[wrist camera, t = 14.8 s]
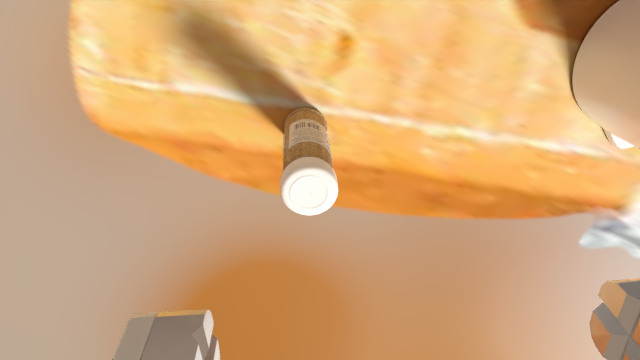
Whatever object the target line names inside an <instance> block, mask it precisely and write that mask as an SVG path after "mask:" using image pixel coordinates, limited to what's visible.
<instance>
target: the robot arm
mask: <svg viewBox="0 0 640 360" xmlns="http://www.w3.org/2000/svg"><path fill="white" fill-rule="evenodd" d="M572 83H573V91H574V95H575V99H576V101H577V103H578V105H579V107H580V108H581V110H582V111H583V112H584V113H585V114H586V115H587V116H588V117H589V118H590V119H592V120H593V121H595V122H596V123H598V124H599V125H600V126H601V127H602V128H603V129H604V132H605V134H606V136H607V138H608V140H609V142H610V143H611V144H612V145H614V146H616V147H618V148H620V149H626V148H631V147H635V146H636V147H638V148H640V0H619V1H618V2H616V3H615V4H614V5H612V6H611V7H610V8H609V9H608V10H607V11H606V12H605V13H604V14H603V15H602V16H601V17H600V18H599V19H598V20H597V21H596V23H595V24H594V25H593V26H592V28H591V29H590V31H589V32H588V34H587V35H586V37H585V39H584V41H583V42H582V44H581V46H580V49H579V51H578V54H577V57H576V60H575V64H574V68H573V78H572ZM599 297H600V299H601V300H602V302H603V303H602V304H601V305H600V306H598V307H597V308H596V309H595V310H594V311H593V313H592V317H591V320H590V329H591V336H592V339H593V341H594V343H595V346H596V347H597V348H598V350H599V352H600V353H601V355H602V356H603V357H604V358H606V359H607V360H640V278H638V279H625V280H613V281H607V282H606V283H604V284H603V285H602V287H601V289H600V292H599ZM213 325H214V322H213V318H212V314H211V311H209V310H190V311H168V312H159V313H137V314H134V315H133V316H132V317H131V318H130V320H129V321H128V323H127V326H126V328H125V330H124V333H123V336H122V338H121V340H120V343H119V345H118V347H117V350H116V352H115V354H114V357H113V359H112V360H220V352H219V344H218V340H217V338H216V337H215V336H214V335H212V330H213Z"/></svg>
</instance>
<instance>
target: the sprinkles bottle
mask: <svg viewBox="0 0 640 360" xmlns="http://www.w3.org/2000/svg"><path fill="white" fill-rule="evenodd" d="M283 156H284V158H283V173H282V176H281V185H280V187H281V197H282V199H283V201H284V203H285V204H286V206H287V207H288V208H290V209H291V210H292V211H294V212H296V213H298V214H302V215H316V214H320V213H322V212H324V211H326V210H327V209H329V208H330V207H331V206H332V205H333V203H334V202H335V200H336V198H337V194H338V184H337V177H336V174H335V171H334V170H333V165H332V156H331V150H330V144H329V138H328V134H327V123H326V121H325V118H324V117H323V115H322V114H321V113H320V112H318V111H317V110H315V109H312V108H307V107H304V108H298V109H296V110H294V111H292V112H291V113H290V114H289V115H288V116H287V117H286V119H285V122H284V138H283Z"/></svg>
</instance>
